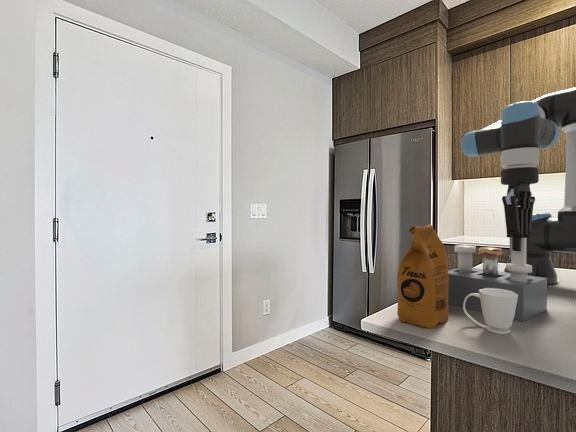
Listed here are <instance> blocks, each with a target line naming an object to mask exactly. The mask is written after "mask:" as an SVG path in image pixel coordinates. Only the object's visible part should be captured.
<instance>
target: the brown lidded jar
mask: <svg viewBox="0 0 576 432" xmlns="http://www.w3.org/2000/svg"><path fill="white" fill-rule="evenodd" d="M478 254H479V255H481V256H482V269H483V276H487V277H493V278H498V271H499V257H500V256H503V248H499V247H479V248H478Z"/></svg>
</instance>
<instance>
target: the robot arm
mask: <svg viewBox="0 0 576 432" xmlns="http://www.w3.org/2000/svg"><path fill="white" fill-rule="evenodd" d="M500 115H501V117H500V120H498V121H497V122H495V123H492V124H491V125H488V126H487V127H484V128H482V129H479V130H472V131H469V132H466V133H465V134H464V135H463V137H462V139H461V144H460V145H461V150H462V152H463V155H465V156H467V157H469V158H470V157H480V156H481V157H482V156H488V155H493V154H500V157H499V158H498V159H499V161H500V167H501V168H502V170H501V171H500V184H501V185H503V186H507V192H506V195H503V196H502V197H501V200H502V204H503V208H504V219H505V229H506V230H505V231H506V238H509V258H508V260H507V262H506V264H507V263H511V264H518V265H526V264H528V265H532V273H527V275H528V276H535V277H542V278H547V285H551V284H557V283H558V275H557V272H556V269H555V267H554V264H553V262H552V257H551V255H552V252H553V253H560V254H561V253H563V254H575V255H576V87H571V88H568V89H565V90H559V91H556V92H551V93H548V94H545V95H543V96H541V97H538V98H536V99H534V100H530V101H520V102H515V103H511V104H509V105H506V106H505V107H503V108H502V110H501V114H500ZM560 128H561V132H563V133H565V134H566V155H565V156H566V157H565V176H564V177H565V180H564V203H563V205H564V206H562V208H560V209H559V210H557V217H554V216H552V214H551V213H550V212H545V213H534V212H533V211H534V205H535V201H536V197H535V196H532V191H531V185H534V184H537V183H538V182H539V174H540V173H539V167H537V166H538V165H540V150H545V149H548V148H550V147H552V146H553V145H555V144H556V143H557V142H558V140H559V139H560V134H561V132H560ZM533 213H534V214H533ZM503 272H506V273H510V271H507V270H506V266H505V268H504V270H503Z"/></svg>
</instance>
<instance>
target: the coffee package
mask: <svg viewBox="0 0 576 432" xmlns="http://www.w3.org/2000/svg"><path fill="white" fill-rule="evenodd" d="M408 233H410V234H413V235H414V237H413V238H412V240H411V243H410V244H409V245H410V246H409V249H408V250H407V252H406V253H405V254H404V256H403V257H402V259H401V260H400V263H399V266H398V272H397V275H396V276H397V278H396V279H397V317H398V319H399V321H401V322H402V323H408V324H410V325H412V326H418V327H420V328H426V329H430V330H431V329H434V328H435V327H436V326H437V325H438V324H444V323H446V321H447V319H448V317H450V314H449V303H448V283H449V276H448V270H449V266H448V256H447V252H446V248H445V246H444V244H443V241H442V240H441V239H440V237H439V235H438V233H437V232H436V230H435V229H434V227H433V225H432V224H431V223H429V224H426V225H425V226H414V225H412V226H410V228H409V229H408Z"/></svg>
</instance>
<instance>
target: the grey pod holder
mask: <svg viewBox="0 0 576 432" xmlns="http://www.w3.org/2000/svg"><path fill="white" fill-rule="evenodd" d="M448 276H449V283H448V305H449V304H450V305H453V306H459V307H462V308H463V303H464V300H465V298H466V297H467V296H468V295H469V294H471V293H478V294H479V290H480V289H485V288H494V289H503V290H508V291H513V292H514V293H516V294H518V299H517V304H516V309H515V315H514V319H513V320H515V321H520V322H525V321H528V320H529V319H531V318H533V317H536V316H538V315H539V314H541V313H543V312H546V311H547V309H548V305H547V304H548V284H547V278H542V277H535V276H528V275H527V283H525V282H519V281H512V280H510V273H506V272H504V271H499V270H498V278H493V277H487V276H483V268H478V267H477V268H476V267H472V273H471V274H467V273H461V272H458V268H453V269H448ZM466 308H467V309H470V310H474V311H479V312H482V307H481V301H480V298H479V297H476V296H469V297H468V298H467V300H466V303H465V309H466Z"/></svg>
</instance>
